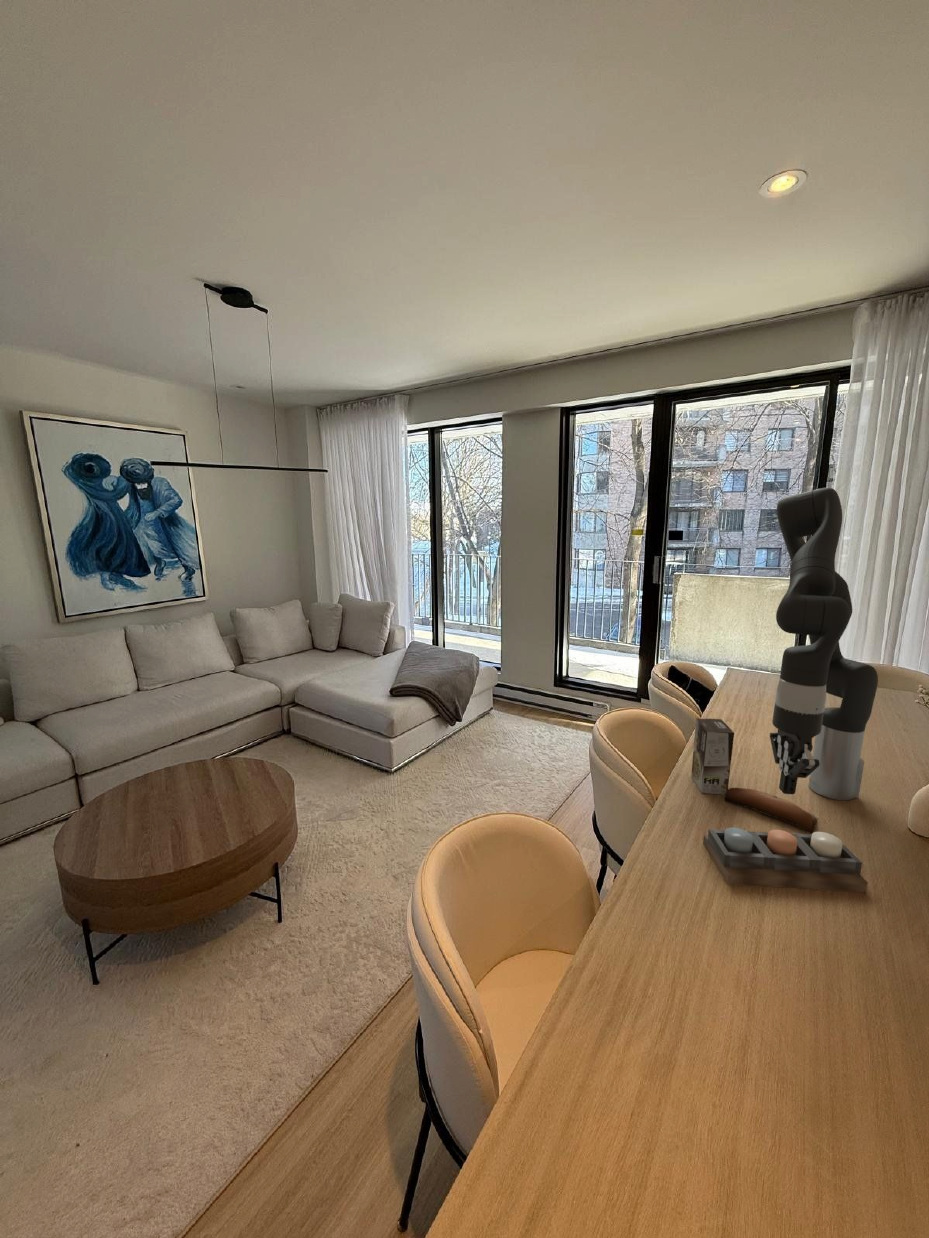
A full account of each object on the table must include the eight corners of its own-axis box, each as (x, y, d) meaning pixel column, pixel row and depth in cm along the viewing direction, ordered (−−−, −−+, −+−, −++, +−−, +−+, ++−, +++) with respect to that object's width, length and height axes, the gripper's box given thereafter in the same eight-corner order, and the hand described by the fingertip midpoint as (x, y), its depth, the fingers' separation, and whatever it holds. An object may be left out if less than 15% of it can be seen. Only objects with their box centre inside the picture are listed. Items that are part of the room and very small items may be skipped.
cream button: (830, 846, 99) (832, 832, 99) (846, 862, 94) (848, 848, 94) (804, 844, 100) (806, 831, 99) (818, 860, 95) (821, 846, 94)
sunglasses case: (821, 818, 114) (821, 800, 110) (813, 844, 110) (812, 827, 107) (735, 788, 126) (733, 771, 123) (725, 810, 123) (722, 794, 120)
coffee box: (728, 795, 123) (735, 733, 120) (700, 793, 124) (706, 731, 121) (716, 776, 132) (722, 718, 129) (690, 775, 133) (695, 716, 130)
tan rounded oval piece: (787, 843, 100) (789, 830, 99) (800, 859, 95) (802, 845, 95) (761, 842, 100) (763, 828, 100) (774, 858, 96) (775, 844, 95)
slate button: (744, 841, 100) (746, 828, 100) (756, 857, 96) (757, 843, 95) (719, 840, 101) (720, 826, 100) (729, 856, 96) (731, 841, 96)
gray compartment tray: (825, 849, 103) (828, 829, 102) (866, 891, 91) (869, 869, 91) (702, 843, 105) (704, 823, 104) (727, 883, 93) (729, 862, 93)
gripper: (844, 719, 85) (829, 813, 89) (800, 693, 98) (789, 775, 102) (797, 717, 86) (784, 810, 89) (760, 691, 99) (749, 773, 102)
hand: (786, 791), depth 95 cm, fingers closed
